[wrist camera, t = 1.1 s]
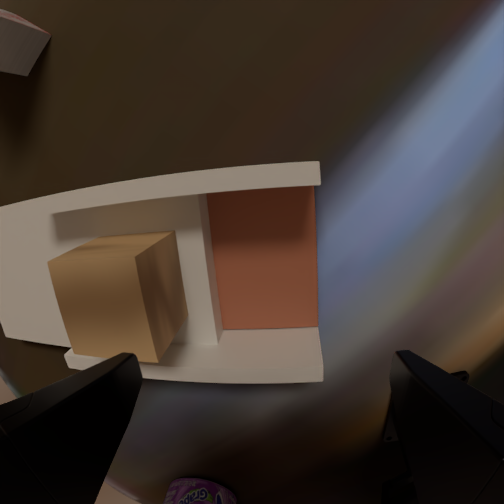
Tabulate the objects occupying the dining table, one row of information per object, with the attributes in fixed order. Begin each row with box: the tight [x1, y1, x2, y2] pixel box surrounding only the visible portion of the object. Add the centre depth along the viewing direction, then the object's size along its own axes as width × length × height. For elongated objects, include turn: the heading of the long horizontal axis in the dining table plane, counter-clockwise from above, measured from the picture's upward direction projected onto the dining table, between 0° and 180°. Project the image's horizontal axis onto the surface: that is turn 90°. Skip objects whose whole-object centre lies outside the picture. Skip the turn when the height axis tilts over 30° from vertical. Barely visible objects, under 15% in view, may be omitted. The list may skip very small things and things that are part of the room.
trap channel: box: [0, 161, 323, 384], centre depth 18 cm, size 11×26×4 cm, turn 95°
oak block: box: [47, 230, 188, 363], centre depth 16 cm, size 5×5×5 cm
